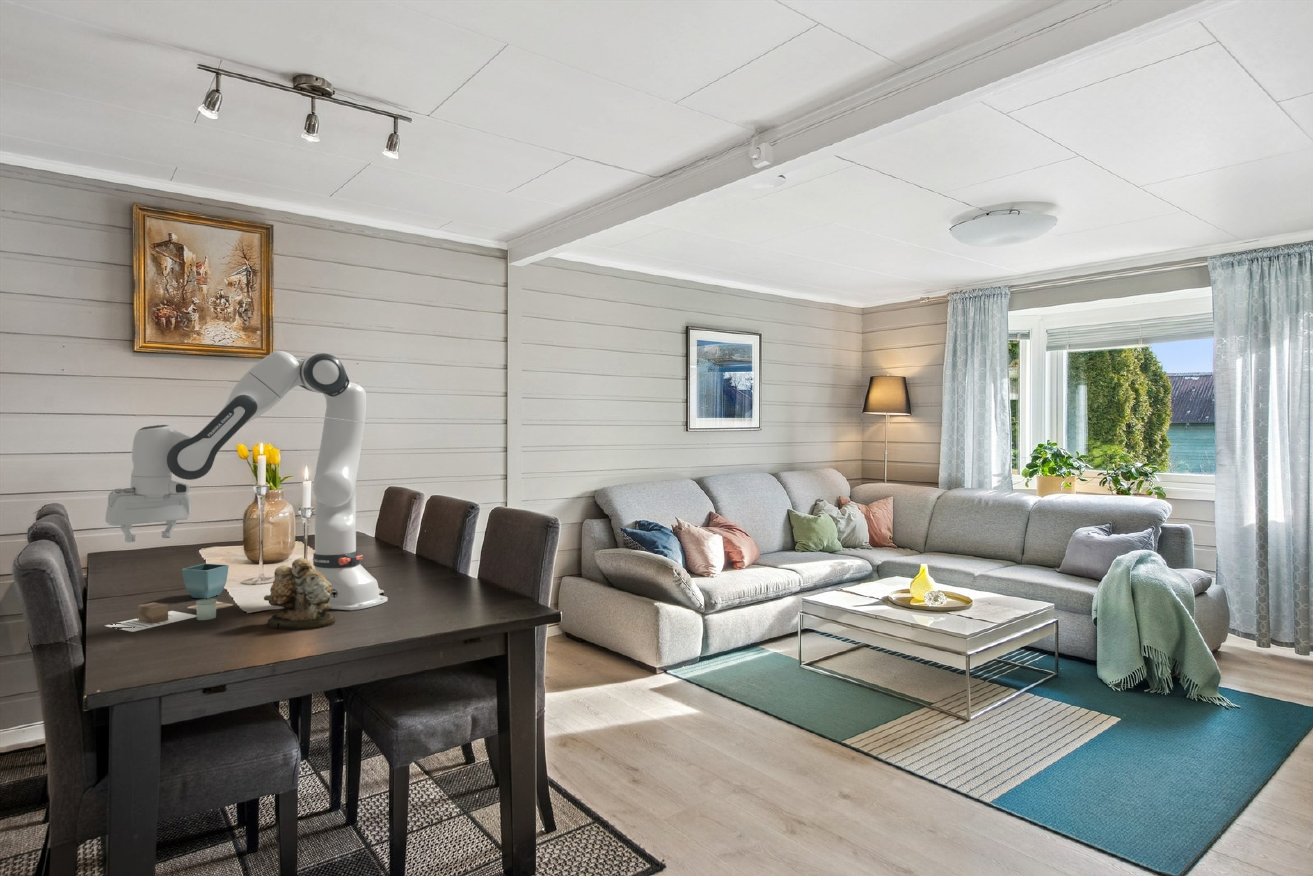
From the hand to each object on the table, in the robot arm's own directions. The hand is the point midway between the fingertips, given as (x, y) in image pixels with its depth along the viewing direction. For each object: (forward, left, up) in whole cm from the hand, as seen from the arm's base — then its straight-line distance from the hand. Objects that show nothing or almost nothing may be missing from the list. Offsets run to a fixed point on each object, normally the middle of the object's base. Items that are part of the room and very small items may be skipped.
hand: (148, 539), depth 198 cm
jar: (-11, -8, -21) cm, 25 cm away
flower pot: (+13, -24, -22) cm, 35 cm away
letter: (-2, 0, -21) cm, 21 cm away
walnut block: (-2, 0, -21) cm, 21 cm away
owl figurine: (-37, -16, -22) cm, 46 cm away
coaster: (-1, -16, -21) cm, 27 cm away
